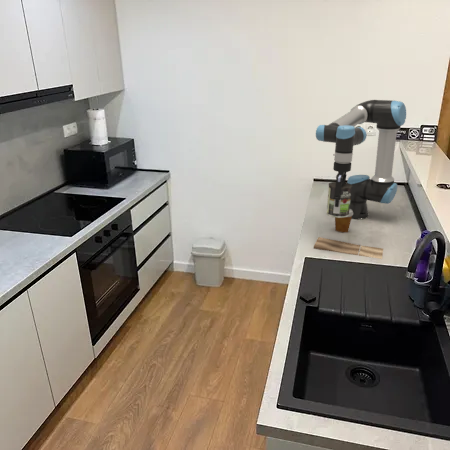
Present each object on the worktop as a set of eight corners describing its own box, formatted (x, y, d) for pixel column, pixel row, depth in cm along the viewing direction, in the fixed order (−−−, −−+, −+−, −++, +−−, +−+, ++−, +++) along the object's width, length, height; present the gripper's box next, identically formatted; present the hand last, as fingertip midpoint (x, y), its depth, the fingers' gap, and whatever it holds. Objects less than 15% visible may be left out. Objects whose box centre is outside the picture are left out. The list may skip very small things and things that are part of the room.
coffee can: (353, 216, 194) (356, 186, 189) (333, 219, 191) (335, 188, 186) (341, 209, 203) (344, 180, 198) (322, 211, 200) (324, 182, 195)
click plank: (318, 239, 211) (318, 236, 211) (360, 247, 204) (360, 245, 204) (313, 248, 201) (313, 246, 200) (357, 257, 194) (357, 255, 194)
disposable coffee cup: (353, 231, 224) (356, 209, 220) (347, 236, 217) (349, 214, 213) (336, 227, 229) (338, 206, 225) (329, 233, 222) (331, 211, 218)
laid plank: (360, 247, 204) (360, 245, 204) (383, 250, 201) (383, 248, 200) (357, 257, 194) (357, 255, 194) (381, 261, 190) (381, 258, 190)
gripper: (338, 156, 199) (333, 201, 207) (329, 166, 180) (325, 216, 188) (354, 157, 197) (349, 203, 205) (348, 168, 177) (342, 218, 185)
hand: (338, 209), depth 196 cm, fingers closed on coffee can, 10 cm apart
